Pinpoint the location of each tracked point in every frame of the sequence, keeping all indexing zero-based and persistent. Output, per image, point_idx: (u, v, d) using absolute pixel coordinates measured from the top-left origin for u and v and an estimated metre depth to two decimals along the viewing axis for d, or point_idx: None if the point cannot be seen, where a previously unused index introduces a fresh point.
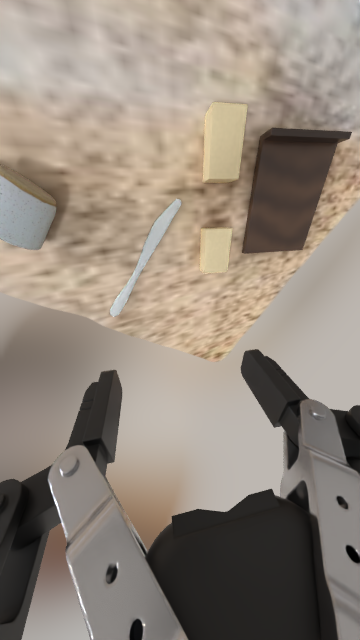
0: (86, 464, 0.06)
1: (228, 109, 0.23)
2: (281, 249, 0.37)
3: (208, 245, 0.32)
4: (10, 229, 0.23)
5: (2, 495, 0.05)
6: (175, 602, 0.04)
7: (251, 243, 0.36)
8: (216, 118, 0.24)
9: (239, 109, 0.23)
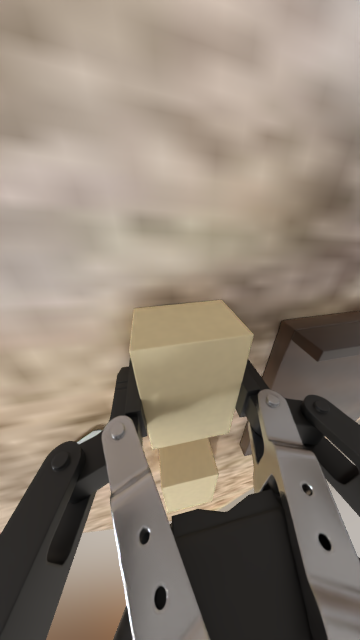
0: (132, 430, 0.07)
1: (189, 354, 0.07)
2: None
3: (170, 496, 0.16)
4: None
5: (67, 453, 0.06)
6: (196, 591, 0.04)
7: None
8: (150, 376, 0.07)
9: (226, 348, 0.07)
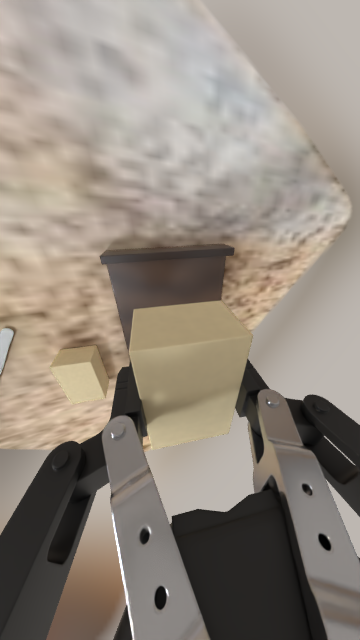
0: (133, 430, 0.07)
1: (188, 355, 0.07)
2: None
3: (62, 380, 0.23)
4: None
5: (68, 453, 0.06)
6: (196, 591, 0.04)
7: None
8: (150, 376, 0.07)
9: (226, 349, 0.07)
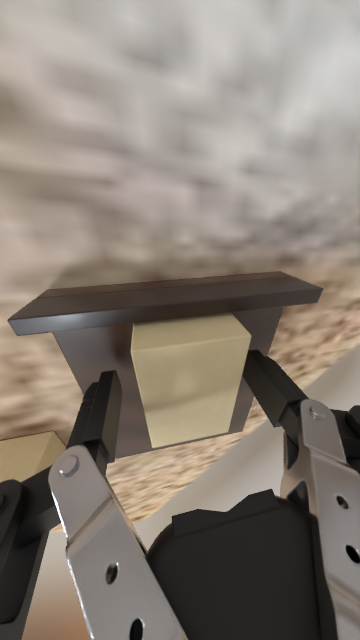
0: (86, 464, 0.06)
1: (188, 354, 0.07)
2: (196, 439, 0.19)
3: None
4: None
5: (2, 495, 0.05)
6: (175, 602, 0.04)
7: (124, 448, 0.17)
8: (151, 375, 0.07)
9: (225, 349, 0.07)
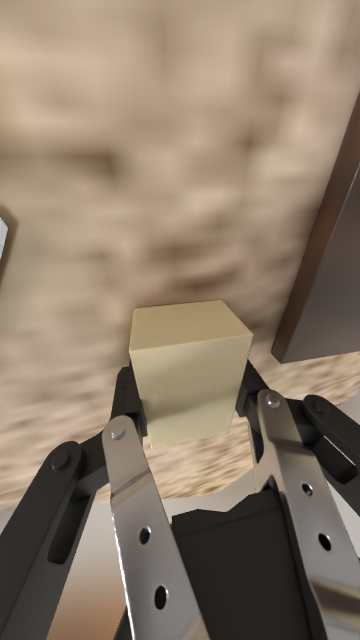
0: (133, 430, 0.07)
1: None
2: None
3: (154, 394, 0.08)
4: None
5: (68, 453, 0.06)
6: (196, 591, 0.04)
7: (305, 341, 0.11)
8: None
9: None
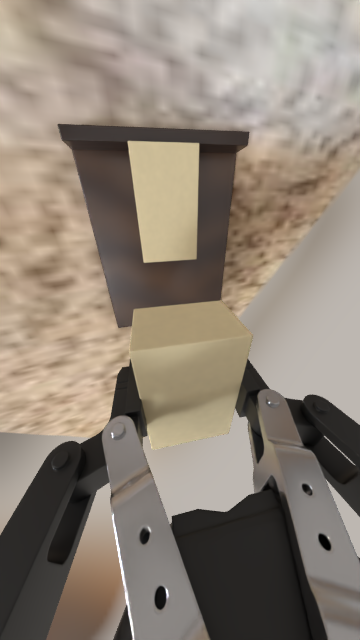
0: (133, 430, 0.07)
1: (161, 153, 0.12)
2: None
3: (154, 395, 0.08)
4: None
5: (68, 453, 0.06)
6: (196, 592, 0.04)
7: (124, 314, 0.22)
8: (140, 169, 0.12)
9: (183, 152, 0.12)
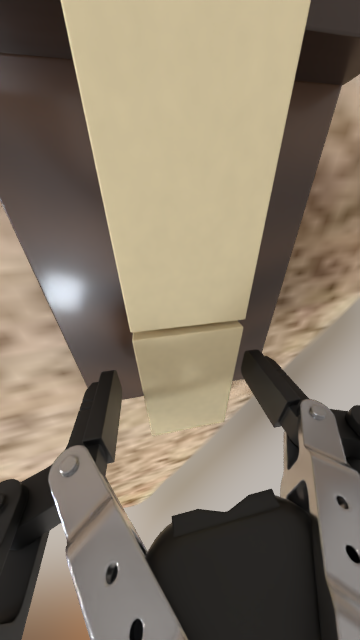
0: (86, 464, 0.06)
1: (183, 14, 0.03)
2: None
3: (154, 382, 0.09)
4: None
5: (2, 495, 0.05)
6: (175, 602, 0.04)
7: None
8: (107, 78, 0.04)
9: (258, 18, 0.04)
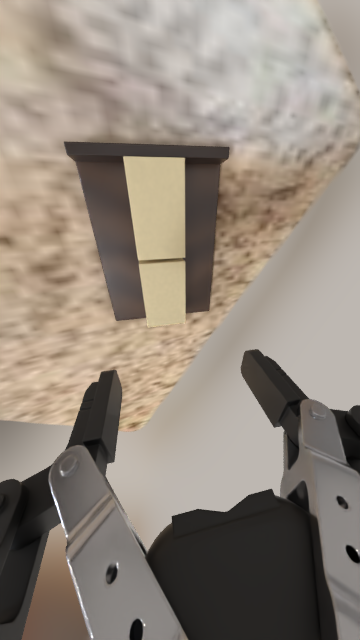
0: (86, 464, 0.06)
1: (152, 166, 0.14)
2: None
3: (148, 288, 0.19)
4: None
5: (2, 495, 0.05)
6: (175, 602, 0.04)
7: (121, 308, 0.24)
8: (134, 180, 0.14)
9: (171, 165, 0.14)
